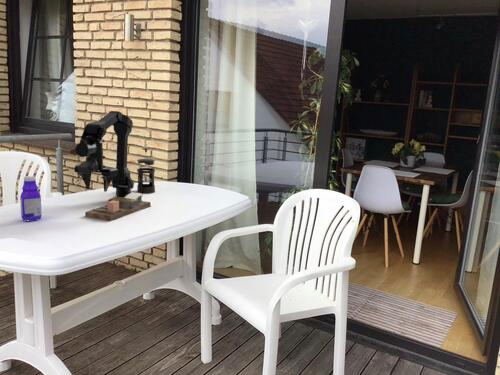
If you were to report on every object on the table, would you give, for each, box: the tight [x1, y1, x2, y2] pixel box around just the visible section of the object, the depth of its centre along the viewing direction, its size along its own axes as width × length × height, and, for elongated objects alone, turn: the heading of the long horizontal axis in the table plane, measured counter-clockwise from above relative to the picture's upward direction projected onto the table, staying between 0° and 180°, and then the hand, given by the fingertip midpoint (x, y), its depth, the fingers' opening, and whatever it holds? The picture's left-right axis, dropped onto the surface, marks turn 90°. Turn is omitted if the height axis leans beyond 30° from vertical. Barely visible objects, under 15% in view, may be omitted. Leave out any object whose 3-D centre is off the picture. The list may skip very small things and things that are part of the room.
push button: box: [110, 196, 137, 203], centre depth 201 cm, size 11×4×2 cm, turn 68°
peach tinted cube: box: [106, 200, 119, 212], centre depth 190 cm, size 3×4×4 cm
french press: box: [136, 147, 156, 195], centre depth 237 cm, size 12×9×23 cm
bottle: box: [19, 175, 42, 221], centre depth 179 cm, size 7×6×17 cm
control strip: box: [84, 194, 152, 222], centre depth 198 cm, size 13×28×5 cm, turn 158°
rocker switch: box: [124, 191, 144, 200], centre depth 207 cm, size 6×6×1 cm
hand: (96, 190), depth 193 cm, fingers open, 9 cm apart
